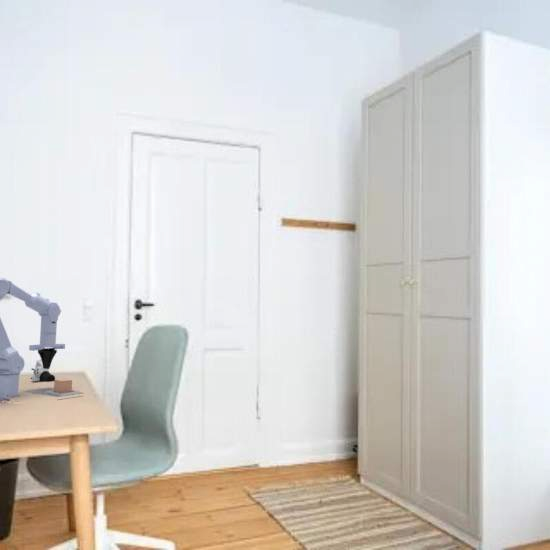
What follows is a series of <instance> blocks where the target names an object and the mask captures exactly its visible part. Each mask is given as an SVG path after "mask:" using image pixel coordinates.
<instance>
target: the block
mask: <svg viewBox="0 0 550 550" xmlns="http://www.w3.org/2000/svg"><path fill="white" fill-rule="evenodd" d="M53 382H54V383H53V388H54V392H57V393H67V392H72V390H73V379H69V378H59V379H55V380H54V381H53Z"/></svg>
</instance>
